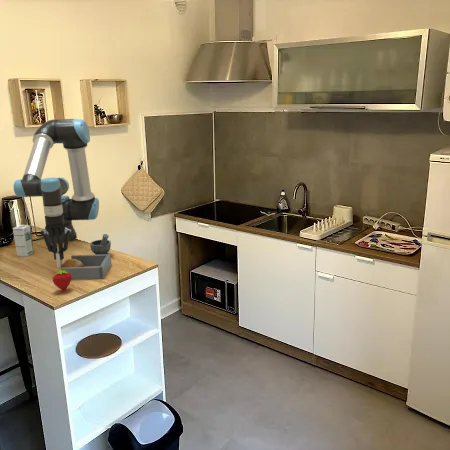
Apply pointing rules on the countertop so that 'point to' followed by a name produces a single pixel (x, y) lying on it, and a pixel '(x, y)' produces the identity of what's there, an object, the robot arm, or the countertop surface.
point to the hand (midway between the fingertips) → (60, 266)
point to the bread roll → (72, 263)
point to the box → (90, 272)
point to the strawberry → (62, 279)
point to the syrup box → (23, 240)
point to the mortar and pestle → (101, 245)
